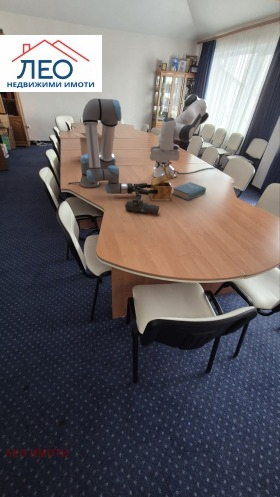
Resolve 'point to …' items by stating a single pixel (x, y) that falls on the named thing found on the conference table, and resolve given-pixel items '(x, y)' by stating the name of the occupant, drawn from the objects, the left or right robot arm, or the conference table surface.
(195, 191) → the book
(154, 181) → the lid
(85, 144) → the box
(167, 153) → the right robot arm
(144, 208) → the laser sight
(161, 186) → the chest
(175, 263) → the conference table surface
